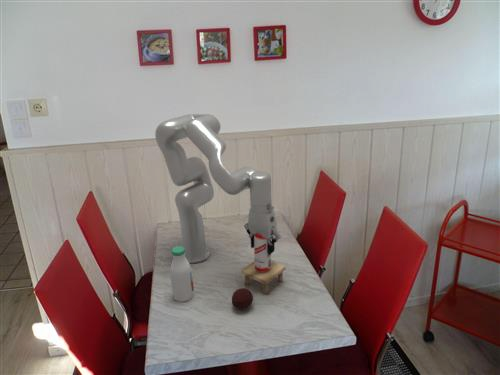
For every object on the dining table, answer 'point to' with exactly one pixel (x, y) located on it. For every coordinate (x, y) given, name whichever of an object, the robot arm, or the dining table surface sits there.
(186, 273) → the milk bottle
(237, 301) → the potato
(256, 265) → the beer can
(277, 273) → the stool
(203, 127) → the robot arm
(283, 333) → the dining table surface
